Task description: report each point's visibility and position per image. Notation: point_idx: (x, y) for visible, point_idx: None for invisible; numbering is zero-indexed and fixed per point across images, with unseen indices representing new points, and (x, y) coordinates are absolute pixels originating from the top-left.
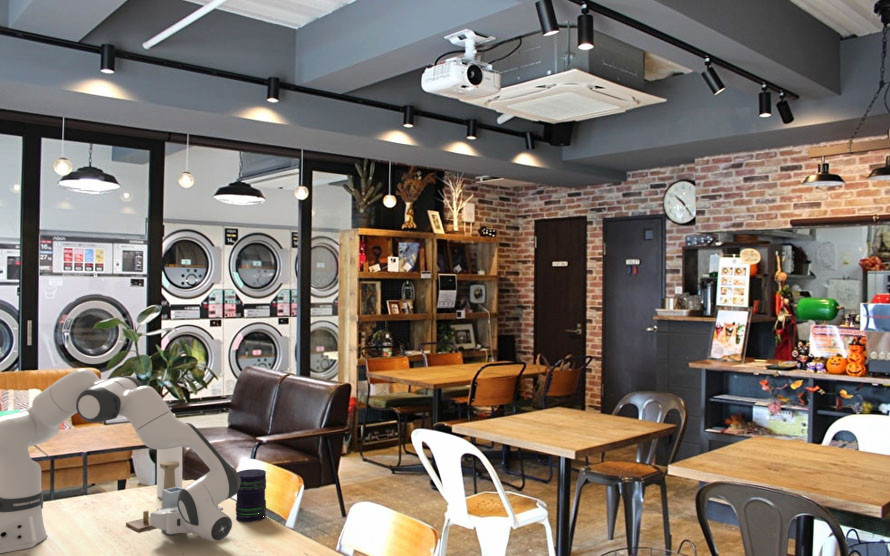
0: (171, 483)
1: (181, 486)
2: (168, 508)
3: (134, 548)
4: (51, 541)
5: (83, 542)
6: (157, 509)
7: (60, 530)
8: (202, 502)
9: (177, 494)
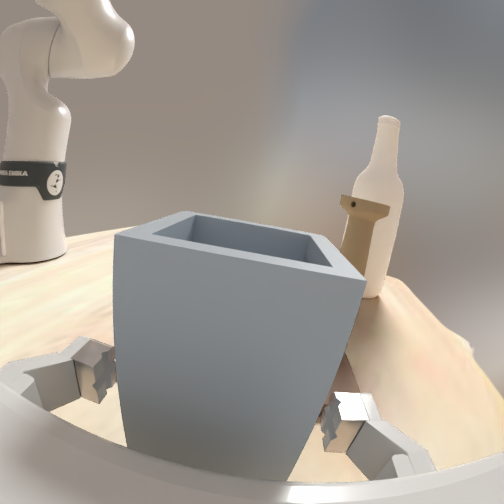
0: (356, 257)
1: (382, 280)
2: (6, 410)
3: None
4: (22, 271)
5: (9, 305)
6: (77, 341)
7: (86, 262)
8: None
9: (220, 301)
